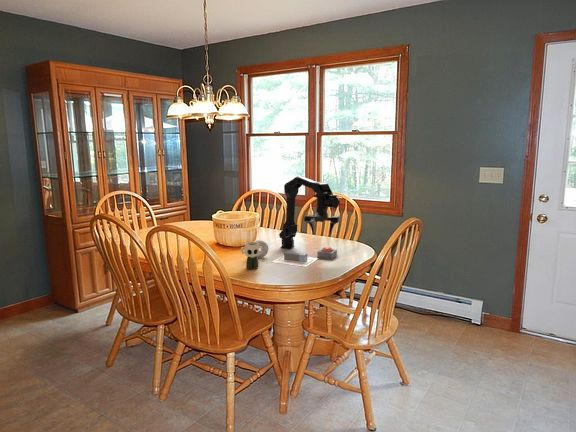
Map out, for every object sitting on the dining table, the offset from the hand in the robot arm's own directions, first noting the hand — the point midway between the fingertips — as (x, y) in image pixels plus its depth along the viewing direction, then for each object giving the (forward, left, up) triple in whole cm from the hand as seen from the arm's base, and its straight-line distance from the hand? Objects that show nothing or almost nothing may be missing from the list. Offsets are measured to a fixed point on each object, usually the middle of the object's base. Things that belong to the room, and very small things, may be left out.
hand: (321, 234), depth 233 cm
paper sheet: (-11, -11, -13) cm, 20 cm away
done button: (+2, +3, -12) cm, 12 cm away
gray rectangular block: (-11, -11, -13) cm, 20 cm away
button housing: (+2, +3, -13) cm, 14 cm away
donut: (-31, -15, -13) cm, 37 cm away
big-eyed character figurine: (-25, -33, -13) cm, 44 cm away
